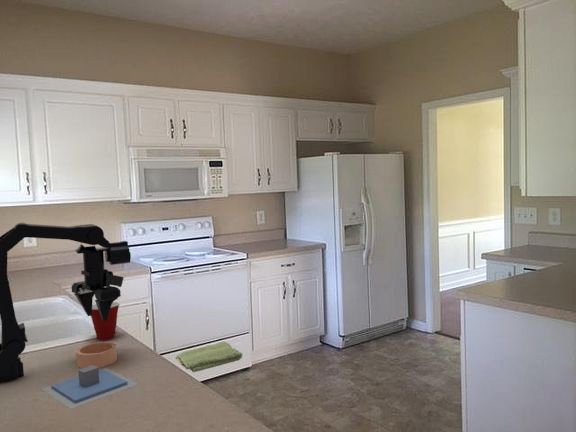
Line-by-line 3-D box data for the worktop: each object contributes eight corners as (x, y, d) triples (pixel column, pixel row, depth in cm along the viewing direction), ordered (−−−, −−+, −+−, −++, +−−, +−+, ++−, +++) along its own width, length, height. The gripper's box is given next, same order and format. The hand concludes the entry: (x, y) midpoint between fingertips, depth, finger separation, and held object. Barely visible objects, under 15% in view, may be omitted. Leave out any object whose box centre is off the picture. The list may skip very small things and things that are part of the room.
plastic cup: (118, 330, 185) (116, 298, 184) (125, 338, 176) (123, 304, 175) (86, 336, 180) (84, 303, 179) (92, 345, 170) (89, 309, 169)
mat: (70, 412, 122) (70, 408, 122) (40, 392, 134) (40, 388, 134) (138, 387, 135) (138, 384, 135) (105, 371, 147) (105, 367, 147)
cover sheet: (75, 403, 125) (73, 384, 124) (51, 388, 134) (50, 370, 134) (127, 384, 135) (126, 366, 134) (102, 371, 144) (100, 355, 144)
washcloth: (173, 361, 154) (172, 351, 154) (227, 349, 163) (226, 339, 163) (188, 375, 143) (187, 364, 143) (245, 361, 152) (244, 351, 151)
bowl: (88, 374, 145) (86, 357, 144) (71, 365, 152) (69, 349, 152) (123, 363, 153) (122, 346, 152) (105, 355, 160) (104, 339, 160)
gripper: (135, 265, 152) (138, 317, 153) (103, 259, 164) (106, 307, 166) (100, 271, 144) (103, 326, 145) (69, 265, 156) (72, 315, 157)
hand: (97, 318), depth 153 cm, fingers open, 9 cm apart
